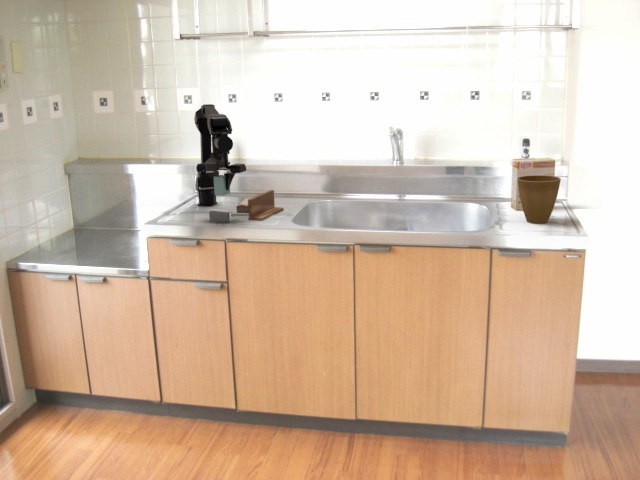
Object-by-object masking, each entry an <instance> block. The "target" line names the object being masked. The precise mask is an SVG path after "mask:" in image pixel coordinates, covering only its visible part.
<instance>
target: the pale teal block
mask: <svg viewBox="0 0 640 480" xmlns="http://www.w3.org/2000/svg"><path fill="white" fill-rule="evenodd" d="M214 192H215V195H216V196H226V195H229V194H231V187H230V188H229V190H228V191H227V190H226V177H225V175H224V174H219V175H218V176H215V177H214Z"/></svg>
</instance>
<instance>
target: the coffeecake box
mask: <svg viewBox="0 0 640 480" xmlns="http://www.w3.org/2000/svg"><path fill="white" fill-rule="evenodd" d="M511 170H512V171H511V188H510V190H511V193H510V196H511V197H510V208H511V209H512V210H514V211H523V208H522V204H521V200H520V195H519V189H518V180H517V178H518V177H522V176H531V175H545V176H555V175H556V174H555V173H556V172H555V171H556V159H554V158H551V157H536V158H513V159H512V167H511ZM555 177H556V176H555Z"/></svg>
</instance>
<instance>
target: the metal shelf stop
mask: <svg viewBox="0 0 640 480" xmlns="http://www.w3.org/2000/svg"><path fill="white" fill-rule="evenodd" d="M208 214H209V215H208V216H209V222H210V223H222V224H230V222H231V221H230V218H231V217H230V212H229V211H215V210H209V211H208Z"/></svg>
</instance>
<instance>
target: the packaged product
mask: <svg viewBox="0 0 640 480" xmlns="http://www.w3.org/2000/svg"><path fill="white" fill-rule="evenodd" d="M250 198H251V197H245V198H243V199H242V200H241V201H240V202H239V203H238V204H237V205H236V207H235V209H234V210H233V211H232V212H231V213H230V214H231V216H232V217H249V213H248V199H250Z"/></svg>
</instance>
